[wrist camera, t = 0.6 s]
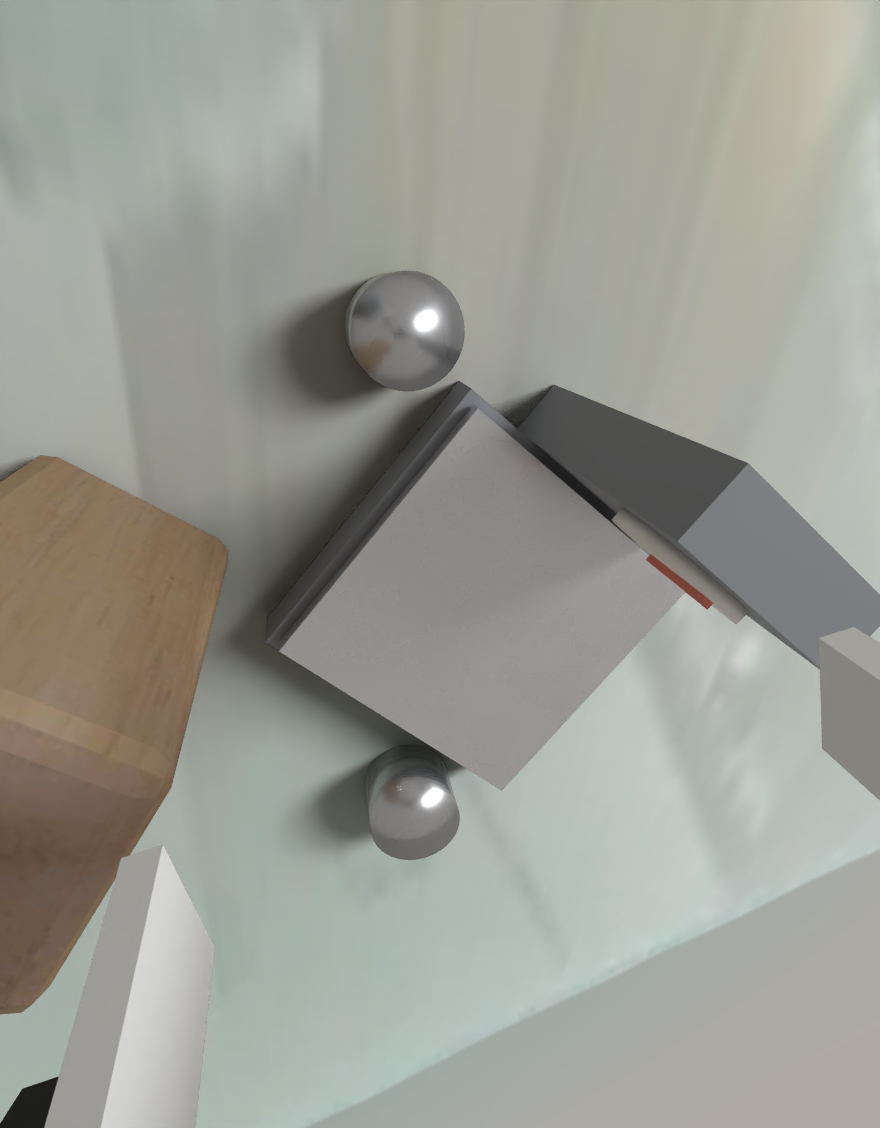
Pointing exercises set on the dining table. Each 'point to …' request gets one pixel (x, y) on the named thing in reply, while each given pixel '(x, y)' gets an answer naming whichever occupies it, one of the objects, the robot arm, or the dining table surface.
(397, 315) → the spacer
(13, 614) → the wooden block
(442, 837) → the cylinder
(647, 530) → the base
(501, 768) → the pan
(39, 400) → the dining table surface
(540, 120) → the dining table surface
